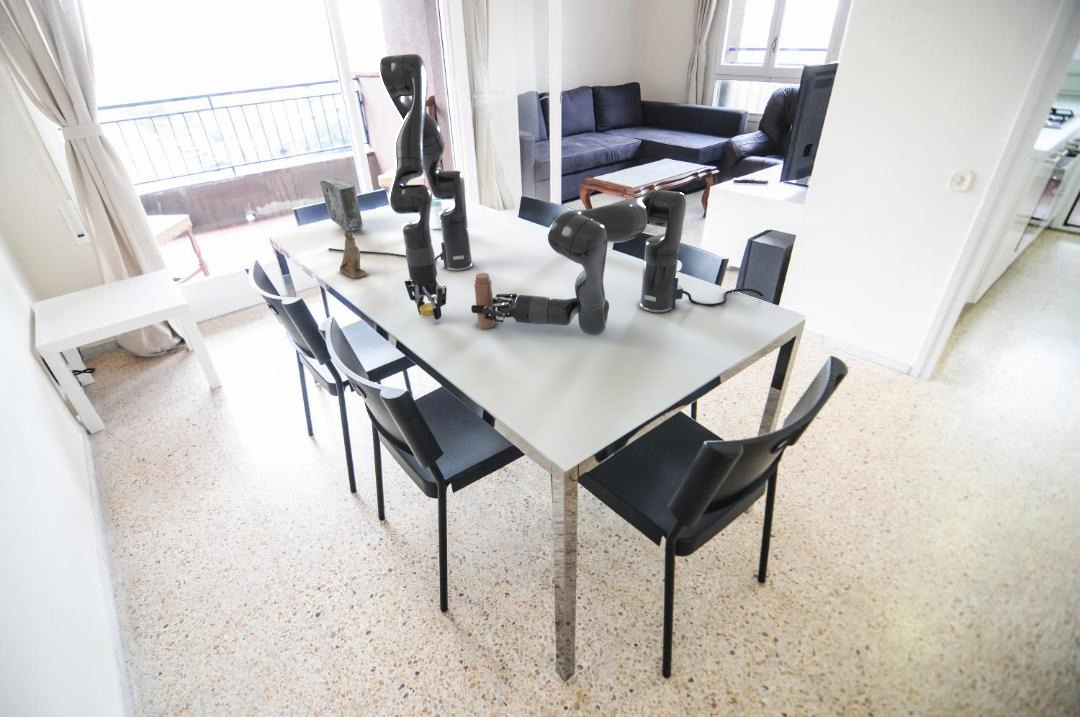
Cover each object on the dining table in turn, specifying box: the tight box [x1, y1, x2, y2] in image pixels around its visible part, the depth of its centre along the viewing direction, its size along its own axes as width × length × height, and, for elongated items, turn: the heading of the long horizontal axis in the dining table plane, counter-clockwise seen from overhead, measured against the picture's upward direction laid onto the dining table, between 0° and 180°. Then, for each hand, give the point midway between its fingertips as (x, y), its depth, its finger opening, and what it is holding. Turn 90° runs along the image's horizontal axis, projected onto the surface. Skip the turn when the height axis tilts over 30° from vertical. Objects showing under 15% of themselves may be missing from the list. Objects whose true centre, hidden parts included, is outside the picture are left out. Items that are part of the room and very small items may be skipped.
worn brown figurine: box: [339, 230, 367, 280], centre depth 174 cm, size 12×6×18 cm, turn 43°
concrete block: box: [319, 177, 364, 232], centre depth 222 cm, size 27×9×20 cm, turn 36°
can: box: [430, 198, 445, 230], centre depth 220 cm, size 7×7×12 cm
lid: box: [419, 302, 434, 318], centre depth 143 cm, size 5×5×2 cm
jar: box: [473, 272, 495, 330], centre depth 137 cm, size 5×5×15 cm
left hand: (430, 316), depth 144 cm, fingers closed on lid, 5 cm apart
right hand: (475, 304), depth 138 cm, fingers closed on jar, 4 cm apart
